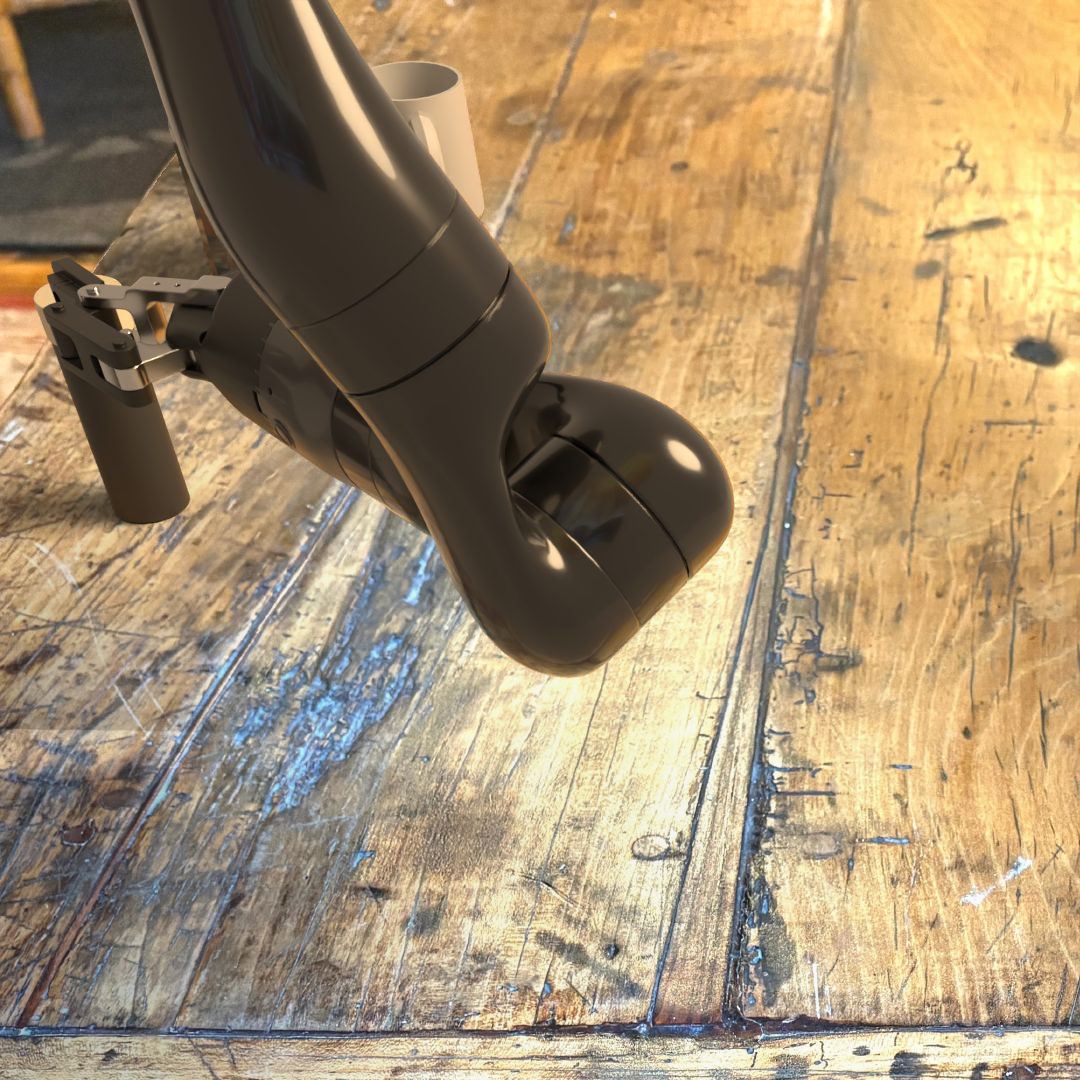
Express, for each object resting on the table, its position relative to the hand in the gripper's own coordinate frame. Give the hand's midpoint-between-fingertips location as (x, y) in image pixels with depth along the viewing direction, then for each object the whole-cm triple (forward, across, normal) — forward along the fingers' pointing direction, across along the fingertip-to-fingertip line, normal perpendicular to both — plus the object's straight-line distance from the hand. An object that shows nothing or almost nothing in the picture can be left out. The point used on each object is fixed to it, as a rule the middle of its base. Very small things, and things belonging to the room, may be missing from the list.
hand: (155, 252), depth 81 cm
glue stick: (+12, 0, +18) cm, 21 cm away
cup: (+32, -32, +18) cm, 49 cm away
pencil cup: (+32, -20, +18) cm, 42 cm away
